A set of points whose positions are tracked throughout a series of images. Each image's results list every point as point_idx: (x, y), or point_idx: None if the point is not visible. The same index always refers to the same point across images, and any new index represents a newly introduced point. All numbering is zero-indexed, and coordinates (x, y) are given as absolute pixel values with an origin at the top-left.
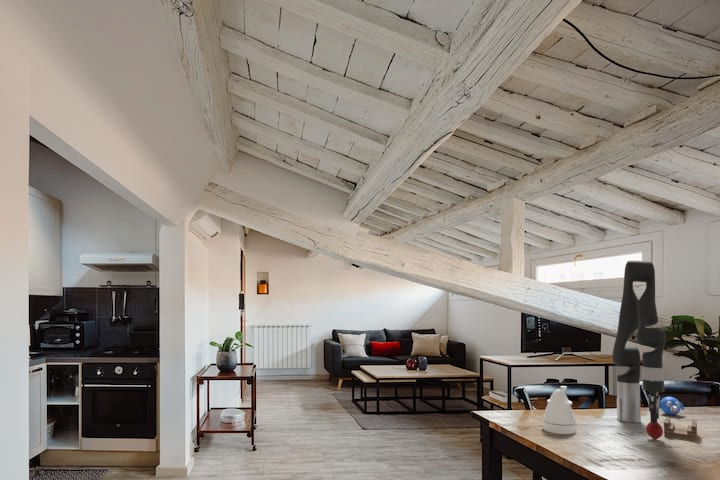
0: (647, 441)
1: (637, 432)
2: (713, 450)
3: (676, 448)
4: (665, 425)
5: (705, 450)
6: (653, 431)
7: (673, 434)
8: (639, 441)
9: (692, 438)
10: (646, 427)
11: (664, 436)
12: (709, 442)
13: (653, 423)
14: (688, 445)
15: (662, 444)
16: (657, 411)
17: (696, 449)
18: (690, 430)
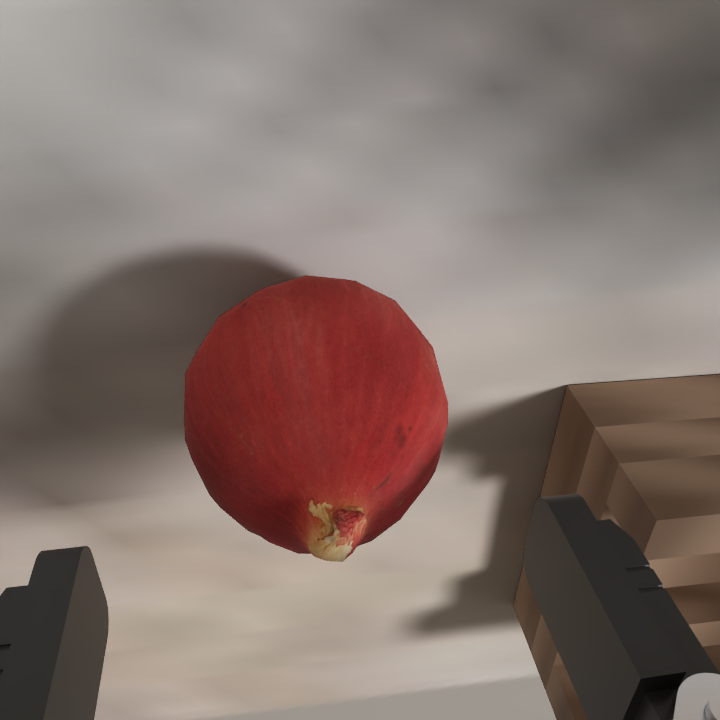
0: (124, 257)
1: (684, 39)
2: (247, 712)
3: (43, 546)
4: (632, 504)
5: (195, 686)
6: (184, 417)
7: (565, 491)
8: (10, 154)
9: (526, 602)
10: (274, 329)
11: (568, 388)
12: (527, 660)
13: (253, 504)
14: (288, 590)
15: (112, 424)
16: (591, 701)
17: (171, 648)
18: None
